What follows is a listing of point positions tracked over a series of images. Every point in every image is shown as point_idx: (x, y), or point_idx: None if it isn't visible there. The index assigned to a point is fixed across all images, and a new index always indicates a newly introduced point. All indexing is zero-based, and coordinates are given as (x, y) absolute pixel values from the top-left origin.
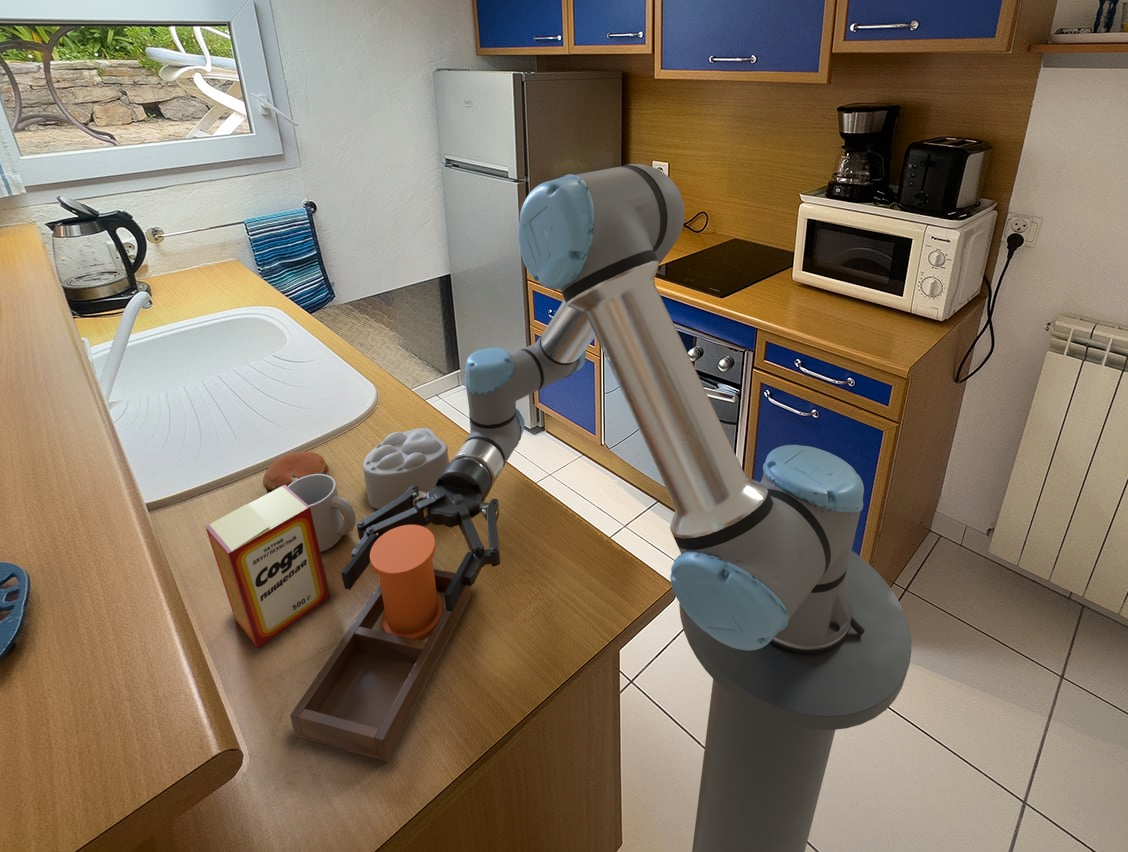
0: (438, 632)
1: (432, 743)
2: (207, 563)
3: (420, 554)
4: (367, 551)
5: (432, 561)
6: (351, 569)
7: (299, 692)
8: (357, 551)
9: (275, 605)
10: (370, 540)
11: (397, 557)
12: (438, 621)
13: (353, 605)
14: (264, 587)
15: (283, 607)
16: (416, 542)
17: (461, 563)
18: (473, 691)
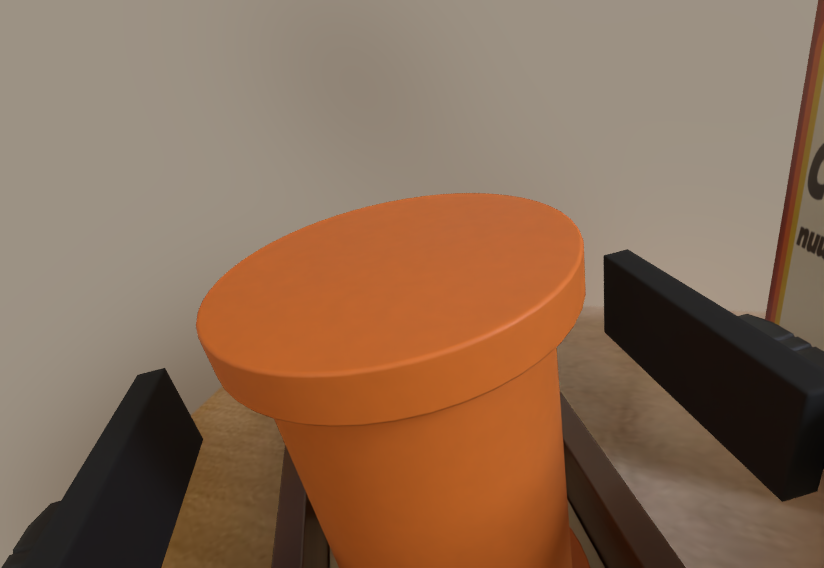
0: (283, 502)
1: (250, 419)
2: None
3: (263, 278)
4: (708, 356)
5: (292, 455)
6: (621, 276)
7: (561, 354)
8: (714, 303)
9: (802, 302)
10: (759, 353)
11: (371, 232)
12: (299, 529)
13: (743, 544)
14: (813, 211)
15: (806, 336)
16: (328, 294)
17: (87, 510)
18: (184, 527)
